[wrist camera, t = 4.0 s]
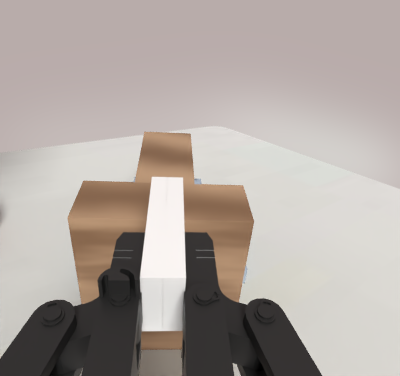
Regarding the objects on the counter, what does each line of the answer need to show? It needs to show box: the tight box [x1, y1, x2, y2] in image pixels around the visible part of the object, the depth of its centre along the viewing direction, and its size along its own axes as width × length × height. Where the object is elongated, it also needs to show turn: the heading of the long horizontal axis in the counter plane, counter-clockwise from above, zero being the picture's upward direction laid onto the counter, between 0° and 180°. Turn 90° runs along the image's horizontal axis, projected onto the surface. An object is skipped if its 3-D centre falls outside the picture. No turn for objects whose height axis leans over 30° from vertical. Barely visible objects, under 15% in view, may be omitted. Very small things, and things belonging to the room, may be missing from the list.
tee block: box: [68, 132, 254, 350], centre depth 32 cm, size 14×12×14 cm
